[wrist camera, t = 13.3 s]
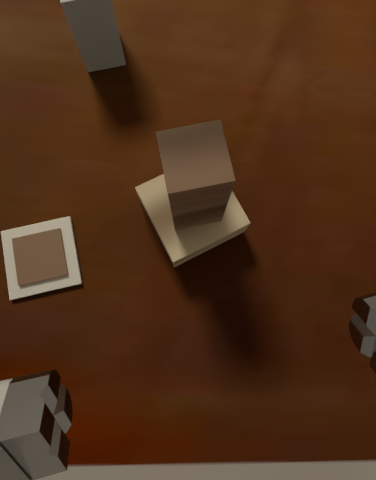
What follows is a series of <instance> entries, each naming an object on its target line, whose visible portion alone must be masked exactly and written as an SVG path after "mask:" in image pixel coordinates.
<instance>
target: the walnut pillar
mask: <svg viewBox="0 0 376 480" xmlns="http://www.w3.org/2000/svg"><path fill="white" fill-rule="evenodd" d="M156 137H157V142H158V147H159V152H160V157H161V162H162V168H163V173H164V178H165V183H166V188H167V193H168V198H169V203H170V208H171V213H172V218H173V223H174V228H175V230H177V229H182V228H187V227H192V226H197V225H202V224H207V223H212V222H217V221H222V218H223V215H224V213H225V210H226V207H227V204H228V201H229V198H230V195H231V192H232V189H233V186H234V183H235V177H234V173H233V169H232V165H231V161H230V156H229V152H228V148H227V144H226V140H225V136H224V132H223V128H222V124H221V120H216V121H210V122H205V123H200V124H194V125H189V126H184V127H179V128H173V129H168V130H163V131H158V132H156Z"/></svg>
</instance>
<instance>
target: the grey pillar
mask: <svg viewBox="0 0 376 480" xmlns="http://www.w3.org/2000/svg"><path fill="white" fill-rule="evenodd" d="M60 3H61V5H62V8H63V10H64V13H65V15H66V18H67V20H68V23H69V25H70V28H71V31H72V33H73V36H74V38H75V41H76V43H77V46H78V48H79V51H80V53H81V56H82V58H83V61H84V63H85V66H86V68H87V71H88V72H93V71H98V70H103V69H108V68H113V67H118V66H123V65H126V62H125V57H124V53H123V48H122V44H121V40H120V35H119V31H118V27H117V22H116V18H115V14H114V9H113V5H112V1H111V0H60Z"/></svg>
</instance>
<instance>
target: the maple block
mask: <svg viewBox="0 0 376 480" xmlns="http://www.w3.org/2000/svg"><path fill="white" fill-rule="evenodd" d="M135 189H136V192H137V194H138V197H139V199H140V201H141V203H142V205H143V207H144V209H145V211H146V213H147V215H148V217H149V219H150V221H151V223H152V225H153V227H154V229H155V231H156V233H157V235H158V236H159V238H160V240H161V242H162V244H163V246H164V248H165V250H166V252H167V254H168V256H169V258H170V260H171V262H172V264H173V266H174V268H175V267H177V266H179V265H181V264H183V263H185V262H187V261H188V260H190V259H192V258H194V257H196V256H198V255H200V254H202V253H204V252H206V251H208V250H210V249H212V248H214V247H216V246H218V245H220V244H222V243H224V242H226V241H228V240H230V239H232V238H234V237H236V236H238V235H239V234H241V233H243V232H244V231H245V230H246V229H247V227H248V226H249V224H250V221H249V220H248V218H247V216H246V214H245V213H244V211H243V209H242V207H241V206H240V204H239V202H238V200H237V199H236V197H235V195H234V193H233V192H231V195H230V198H229V201H228V204H227V207H226V210H225V213H224V215H223V218H222V221H217V222H212V223H207V224H202V225H197V226H192V227H187V228H182V229H177V230H175V228H174V223H173V218H172V213H171V208H170V203H169V198H168V193H167V188H166V183H165V178H164V174H162V175H160V176H158V177H156V178H154V179H152V180H150V181H148V182H145V183H143V184H141V185H139V186H137V187H135Z"/></svg>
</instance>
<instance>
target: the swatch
mask: <svg viewBox="0 0 376 480" xmlns="http://www.w3.org/2000/svg"><path fill="white" fill-rule="evenodd" d="M1 237H2V245H3V252H4V260H5V268H6V276H7V283H8V291H9V299H10V300H14V299H19V298H23V297H27V296H32V295H36V294H40V293H44V292H49V291H53V290H57V289H62V288H66V287H70V286H75V285H79V284H83V283H82V277H81V271H80V266H79V260H78V254H77V248H76V243H75V237H74V231H73V225H72V220H71V217H70V216H68V217H64V218H59V219H55V220H50V221H46V222H41V223H36V224H32V225H27V226H23V227H18V228H14V229H9V230H5V231H1Z"/></svg>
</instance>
